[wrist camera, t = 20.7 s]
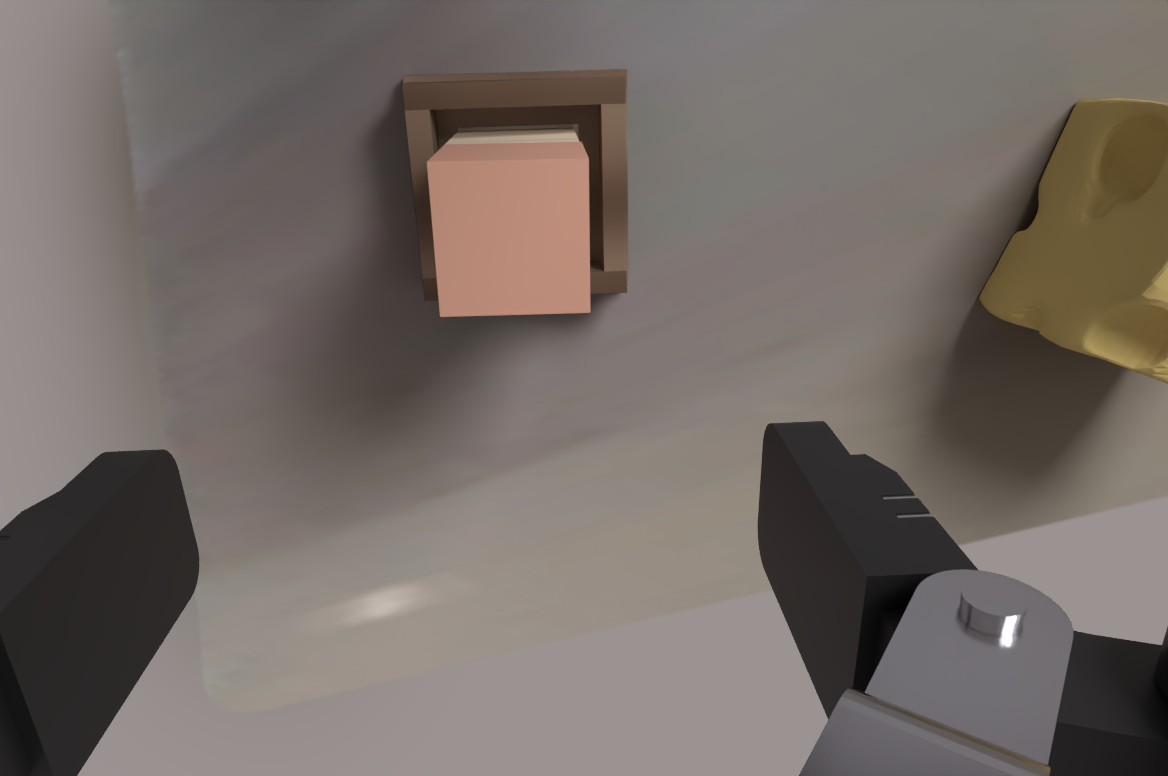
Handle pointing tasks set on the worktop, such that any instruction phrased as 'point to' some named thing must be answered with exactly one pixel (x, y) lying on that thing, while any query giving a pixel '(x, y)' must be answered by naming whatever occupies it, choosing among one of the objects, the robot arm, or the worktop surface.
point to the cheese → (1097, 240)
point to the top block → (511, 228)
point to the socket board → (530, 104)
